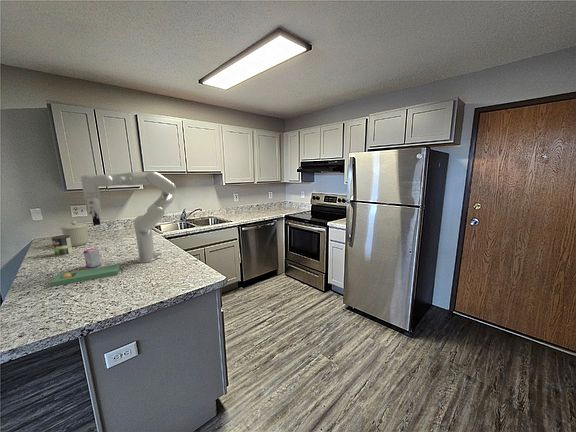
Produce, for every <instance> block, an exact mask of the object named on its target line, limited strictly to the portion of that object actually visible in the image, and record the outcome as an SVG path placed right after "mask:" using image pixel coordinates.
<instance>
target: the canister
mask: <svg viewBox="0 0 576 432" xmlns="http://www.w3.org/2000/svg"><path fill="white" fill-rule="evenodd" d="M88 228H89V224H87V223H78V221H75V220H73V221H71V224H66V225H64V226H62V227H60V230H61V231H62V234H63V235H70V240H71V245H72V247H80V246H83V245H87V243H88V241H89V233H88V232H89V231H88Z"/></svg>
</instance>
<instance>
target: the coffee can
mask: <svg viewBox="0 0 576 432" xmlns="http://www.w3.org/2000/svg"><path fill="white" fill-rule="evenodd" d="M50 239H51V242H52V243H51V244H52V246H53V253H54V257H56V258H57V257H58V258H59V257H66V256H70V255H73V254H74V251H73V246H72V245H71V240H70V235H57V236H53V237H51V238H50Z"/></svg>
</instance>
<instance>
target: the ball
mask: <svg viewBox="0 0 576 432" xmlns="http://www.w3.org/2000/svg"><path fill="white" fill-rule="evenodd" d="M65 273H66V274H64V275H63V278H69V277H72V275H71V274H70V273H69V272H65Z"/></svg>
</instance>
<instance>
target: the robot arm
mask: <svg viewBox="0 0 576 432" xmlns="http://www.w3.org/2000/svg"><path fill="white" fill-rule="evenodd" d="M80 182H81V185H82V187H81V188H82V193H83V199H86V204H87V210H88V214H89V215H91V218H92V224H93V226H100V225H101V219H100V214H101V213H102V212H103V211H102V205H101V200H100V198H101V192H100V187H106V188H108V187H111V186H112V187H113V186H115V187H116V186H141V185H142V186H143V185H145V186H146V185H152V186H154V187H156V188H157V189H159V190H160V191H161V194H160V195H159V197H158V198H157V200H155V201H153V203H152V204H150V206H148V207H147V210H146V212H145V213H144V214H142V215H139V216H137V217H136V218H134V222H133V225H134V231H135V237H136V244H137V252H138V258H136V261H137V263H141V264H143V263H149V262H153V261H156V260H157V259H158V257H159V256H162V255H163V254H162V252H160V251H158V252H156V251H155V247H154V239H153V232H152V231H153V230H152V229H153V228H154V227H155V226H156V225H157V224H158V223H159V222H160V221H161V220H162V218H163V217H165V212H166V211H165V210H167V209H168V208H169V206H171V204H172V203H173V201H174V198H175V193H176V192H177V186H176V185H175V183H174V182H172V181H171V180H169V179H168V178H166V177H165V176H163V174H161V173H159V172H157V171H154V170H153V171H133V172H126V173H125V172H124V173H112V174H111V173H110V174H109V173H108V174H97V175H95V174H84V175H81V177H80Z"/></svg>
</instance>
